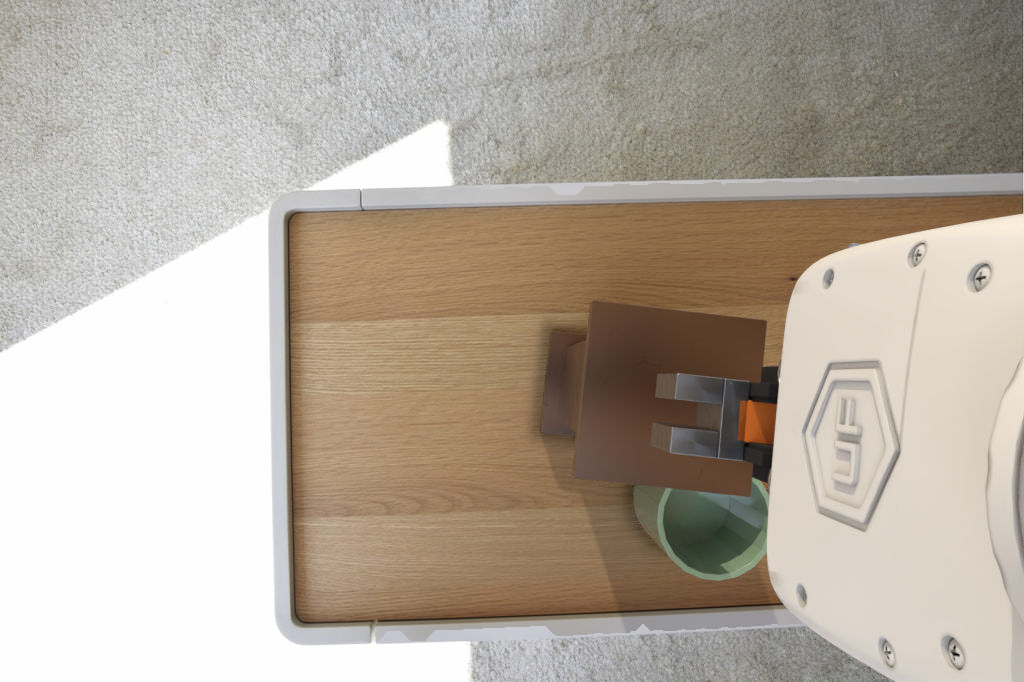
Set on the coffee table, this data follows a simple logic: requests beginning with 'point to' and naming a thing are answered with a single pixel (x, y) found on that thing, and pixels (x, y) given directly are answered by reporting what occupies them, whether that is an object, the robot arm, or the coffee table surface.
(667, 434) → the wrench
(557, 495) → the coffee table surface
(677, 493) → the green cup
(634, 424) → the stand
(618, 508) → the coffee table surface
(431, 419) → the coffee table surface
